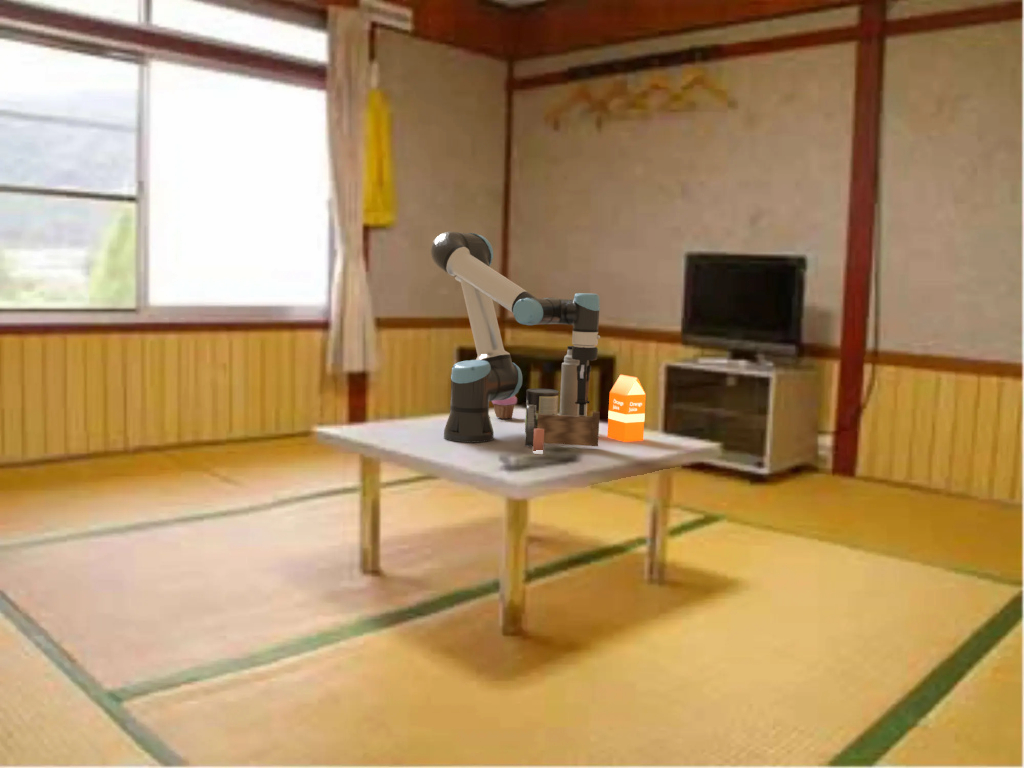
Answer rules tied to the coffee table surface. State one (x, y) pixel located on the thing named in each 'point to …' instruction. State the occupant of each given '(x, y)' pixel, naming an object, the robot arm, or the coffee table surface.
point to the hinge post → (530, 424)
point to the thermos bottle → (569, 385)
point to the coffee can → (542, 401)
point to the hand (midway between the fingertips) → (581, 425)
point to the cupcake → (504, 407)
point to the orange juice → (626, 410)
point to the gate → (570, 429)
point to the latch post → (538, 439)
